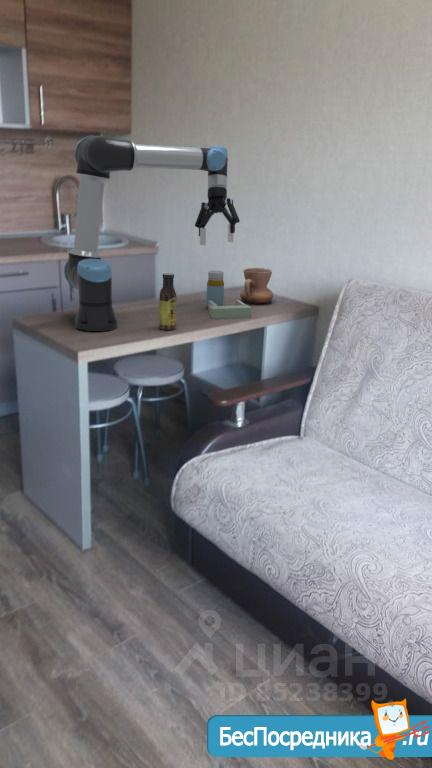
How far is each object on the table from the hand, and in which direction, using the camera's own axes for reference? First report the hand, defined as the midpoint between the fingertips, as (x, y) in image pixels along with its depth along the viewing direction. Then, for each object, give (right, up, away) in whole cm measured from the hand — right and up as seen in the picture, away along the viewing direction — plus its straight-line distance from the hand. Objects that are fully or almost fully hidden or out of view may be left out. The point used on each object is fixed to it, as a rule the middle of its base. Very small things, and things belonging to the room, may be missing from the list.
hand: (216, 243), depth 237 cm
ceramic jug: (+17, -19, +29) cm, 39 cm away
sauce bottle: (-18, -35, -17) cm, 43 cm away
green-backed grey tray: (+4, -27, +7) cm, 28 cm away
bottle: (-1, -24, +16) cm, 28 cm away
